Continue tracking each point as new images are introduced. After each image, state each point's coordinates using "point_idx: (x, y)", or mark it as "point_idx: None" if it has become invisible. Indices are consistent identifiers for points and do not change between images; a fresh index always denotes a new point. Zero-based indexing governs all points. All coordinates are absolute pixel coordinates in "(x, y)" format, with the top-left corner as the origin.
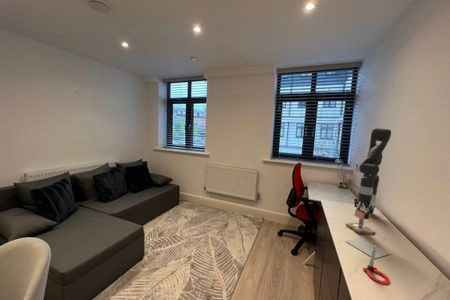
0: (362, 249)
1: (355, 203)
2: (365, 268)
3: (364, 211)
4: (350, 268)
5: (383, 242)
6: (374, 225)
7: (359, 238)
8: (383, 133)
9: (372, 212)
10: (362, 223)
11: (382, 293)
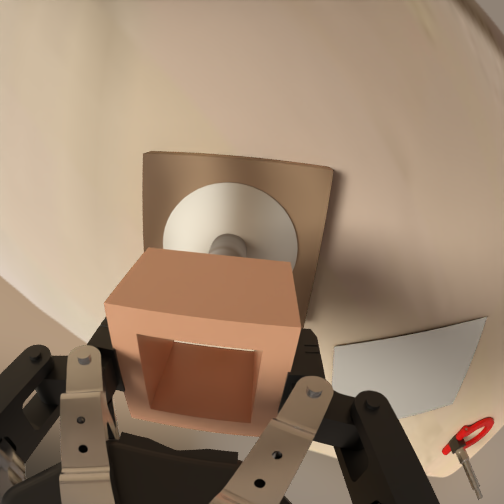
0: (404, 409)
1: (35, 437)
2: (448, 452)
3: (179, 332)
4: None
5: (428, 233)
6: (178, 2)
7: (340, 361)
8: None
9: (392, 421)
10: None
11: (482, 445)
